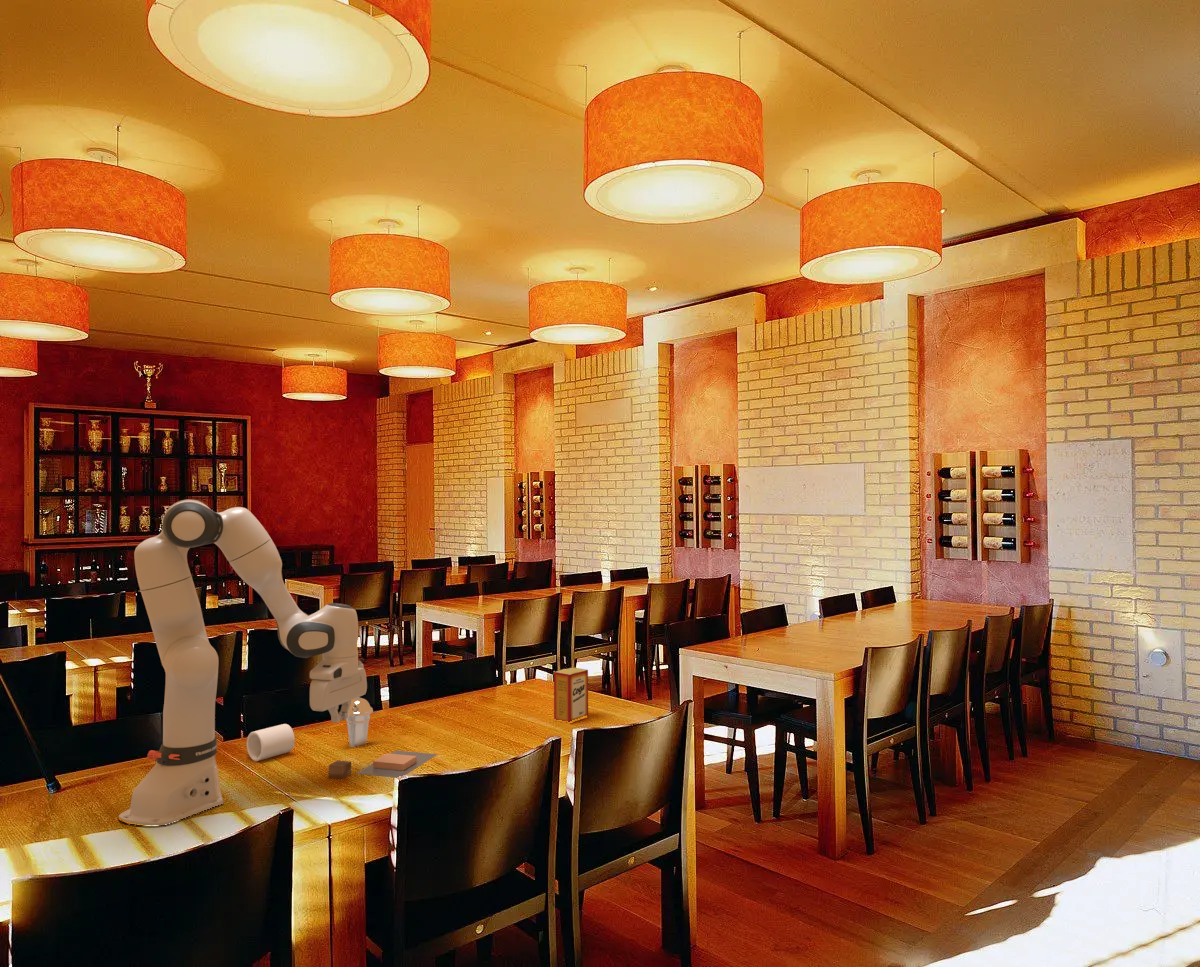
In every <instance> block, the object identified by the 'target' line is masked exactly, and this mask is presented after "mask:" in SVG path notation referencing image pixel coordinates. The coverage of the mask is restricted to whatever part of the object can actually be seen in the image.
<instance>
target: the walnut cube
mask: <svg viewBox="0 0 1200 967" xmlns="http://www.w3.org/2000/svg"><path fill="white" fill-rule="evenodd" d="M350 775H352V761H350V760H348V761H347V760H336V761H333V762H332V763H330V764H328V778H331V779H339V780H340V779H341V780H343V779H344V778H346V777H349V776H350Z"/></svg>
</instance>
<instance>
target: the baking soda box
mask: <svg viewBox="0 0 1200 967" xmlns="http://www.w3.org/2000/svg"><path fill="white" fill-rule="evenodd" d="M586 715H588V716H589V670H588V669H585V668H579V667H573V666H572V667H569V668H563V669H559V670H557V671H554V672H553V719H556V720H562V721H568V722H570V721H572V720H575V719H578V718H580V717H583V716H586Z"/></svg>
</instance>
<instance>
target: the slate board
mask: <svg viewBox="0 0 1200 967" xmlns="http://www.w3.org/2000/svg"><path fill="white" fill-rule="evenodd" d="M390 754H400V755H411V756H417V762H416V763H415V764H413V765H411V766H410V767H408V768H407V769H405V770H403V771H402V770H392V769H382V768H374V767H373V763H371V764H370V765H367V766H366V767H364V768H363V769H360V770H359V771H358V772H356V773H355V774H357V775H367V776H375V777H377V776H378V777H386V778H387V777H388V778H396V779H398V778H397V777H399V776H403V775H405V776H406V775H408V774H410V773H412V772H413V771H414V770H416V769H418V768H419V767H420V766H422V765H423V764H425V763H426V762H428V761H430V760H431V759H433V758H434V757H436V756H438V754H437V753H428V752H419V751H418V752H417V751H416V752H415V751H407V750H394V751H393V752H391V753H390ZM403 777H404V776H403Z"/></svg>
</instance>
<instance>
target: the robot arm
mask: <svg viewBox="0 0 1200 967" xmlns="http://www.w3.org/2000/svg"><path fill="white" fill-rule="evenodd" d="M209 544H215V545H216V546H217V547H218V548H219V549H220V550H221V552H222V554H223V555H224V557H225V558H226V561H227V562H228V563H229V565H230V566H231V567H232V569H233V570H234V572H235V573H236V574H237V575H238V577H239V578H241V580H242V581H243V582H244V583H245V584H247V585H248V586H249V587H251V588H252V589H254V591H255V592H256V593H257V594H258V595H259V596H260V597H261V599H262V600H263V602H264V603H265V605H266V607H267V609H268V610H269V612H270V613H271V615H272V616H273V618H274V620H275V622H276V627H277V637H278V640H279V643H280V645H281V647H283V648H284V649H286V650H287V651H289V653H291V655H293V656H294V657H297V658H302V659H308V658H311V657H315V656H318V655H322V656H321V658H322V659H321V660H320V661H319V662H318V664H317V665H316V666H314V667H313V668H312V669H311V670H310V671H309V679H311V682H310V686H309V707H310V709H311V710H312V711H315V712H324V711H328V712H329V715H330V718H331V719H330V720H331V723H334V724H337V723H339V722H340V721H341V720H343V721H344V720H346V718H348V711H349V708H350V705H351V700H353V699H355V698H357V697H360V698H361V697H362V696H364V695H366V693H367V689H368V681H367V672H366V669H365V667H364V663H363V662H362V661H361V660H359V651H358V645H357V644H358V640H359V621H358V620H359V619H358V614H357V611H356V609H355V608H354V607H352V606H351V605H349V604H344V603H339V602H338V603H337V602H331V603H327V604H326V605H324V606H323V607H322V608H320V609H319V610H317V611H316V612H314V613H311V614H307V613H306V612H304V610H302V609H300V607H299V606H298V605H297V603H296V601H295V599H294V598H293V597H292V595H291V593H290V591H289V590H288V588H287V585H285V582H284V580H283V573H282V568H283V562H282V558H281V556H280V553H279V550H278V549H277V546H276V544H275V543H274V541H273V539H272V538H271V536H270V535H269V532H268V531H267V530H266V529H265V527H264V526H263V524H261V522H260V521H259V520H258V519H257V517H256V516H255V515H254V514H253V513H252V512H251V511H250V510H249V509H248V508H246V507H241V506H235V507H230V508H227V509H226V510H223V511H221V512H216V511H214V510H212V509H211V508H210V507H209V506H208V505H207V504H205V503H204V502H202V501H201V500H197V499H191V498H190V499H189V498H188V499H182V500H178V501H177V502H175V503H173V504H172V505H171V506H169V508H168V509H167V510H166V511H165V513H164V516H163V519H162V528H161V531H160V533H159V534H158V535H155V536H153V537H149V538H147V539H144V540H143V541H142V542H140V543H139V544H138V545H137V546H136V547H135V550H134V552H133V554H134V555H133V556H134V567H135V574H136V578H137V583H138V587H139V591H140V594H141V597H142V600H143V603H144V606H145V610H146V614H147V616H148V619H149V623H150V627H151V630H152V634H153V639H154V640H155V645H156V648H157V652H158V655H159V658H160V663H161V666H162V667H163V669H164V672H165V682H164V683H165V685H164V702H163V703H164V704H163V709H162V710H163V711H162V743H161V745H160V748H159V750H152V749H151V750H149V751H148V753H147V759H148V760H154V761H156V763H155V764H154V765H153V767H152V768H151V770H149V772H148V773H146V775H145V776H144V777H143V779H142V780H141V781H140V782H139V783H138V785H136V787H135V788H134V789H133V792H132V794H131V795H132V796H131V799H130V800H131V801H130V808H128V809H127V810H125V811H123V812H121V813H120V814H119V815H118V817H119V818H121V819H122V820H124V821H127V822H130V823H136V824H143V825H165V824H169V823H172V822H174V821H177V820H180V819H183V818H185V819H187V818H186V817H188V816H190V815H192V814H196V813H198V812H201V811H203V812H205V811H204V810H206V811H208V810H207V809H209V810H211V809H213V808H212V807H214V808H216V807H215V806H217V807H219V806H222V805H223V804H224V798H223V794H222V791H221V787H220V785H221V784H220V777H219V769H218V765H217V761H216V754H217V751H218V744H217V737H216V736H215V732H216V730H215V729H216V720H215V719H216V716H215V715H216V698H217V690H218V679H219V655H218V652H217V651H216V649H215V648H214V646H212V645H211V643H210V641H209V637H208V634H207V629H206V626H205V622H204V617H203V611H202V608H201V603H200V599H199V596H198V593H197V590H196V586H195V583H194V580H193V576H192V574H191V570H190V567H189V563H188V551H189V550H190V549H192V548H197V547H201V546H206V545H209ZM340 705H341V708H340V711H339V706H340ZM221 804H222V805H221ZM218 805H219V806H218ZM210 808H211V809H210ZM201 813H202V812H201ZM198 814H199V813H198ZM196 815H197V814H196ZM190 817H191V816H190ZM188 818H189V817H188ZM183 820H184V819H183ZM180 821H181V820H180ZM177 822H178V821H177ZM172 824H173V823H172ZM169 825H170V824H169Z"/></svg>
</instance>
